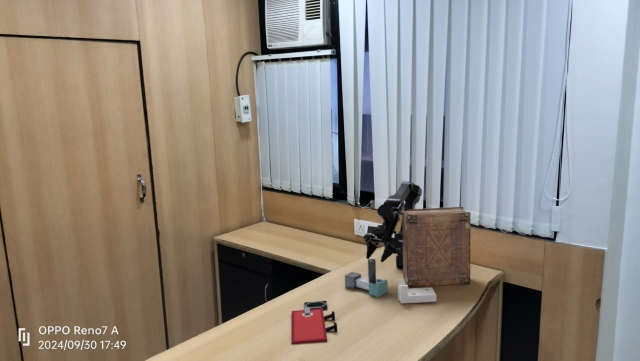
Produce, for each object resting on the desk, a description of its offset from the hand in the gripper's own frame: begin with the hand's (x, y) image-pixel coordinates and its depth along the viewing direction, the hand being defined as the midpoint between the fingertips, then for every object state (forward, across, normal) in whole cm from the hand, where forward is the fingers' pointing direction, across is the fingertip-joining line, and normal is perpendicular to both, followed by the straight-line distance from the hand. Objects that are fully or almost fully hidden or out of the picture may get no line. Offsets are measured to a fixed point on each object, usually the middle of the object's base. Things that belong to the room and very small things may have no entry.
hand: (374, 260), depth 191 cm
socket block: (+12, +6, +4) cm, 13 cm away
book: (-4, +11, +25) cm, 28 cm away
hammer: (+11, 0, +2) cm, 11 cm away
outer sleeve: (+12, -6, 0) cm, 14 cm away
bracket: (+9, +19, +11) cm, 24 cm away
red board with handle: (+32, +10, -22) cm, 40 cm away
